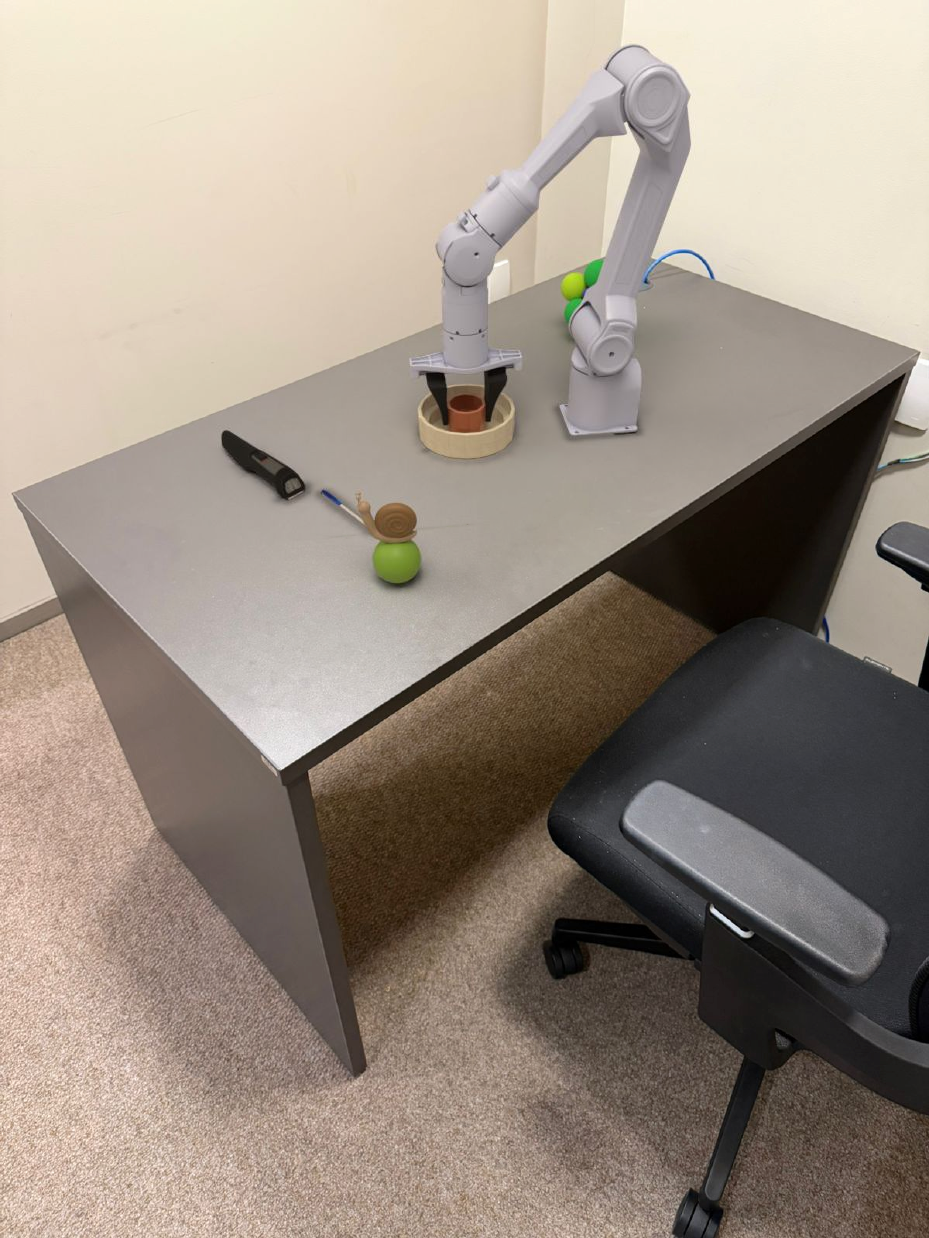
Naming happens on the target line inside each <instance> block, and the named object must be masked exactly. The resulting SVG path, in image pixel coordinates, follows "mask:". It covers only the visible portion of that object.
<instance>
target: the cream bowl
mask: <svg viewBox="0 0 929 1238" xmlns="http://www.w3.org/2000/svg"><path fill="white" fill-rule="evenodd" d="M484 392H485V387H484V384H477V383H476V384H475V383H457V384H451V385H447V400H448V399H449V398H450V397H451V396H453V395H457V394H461V393H472V394H477V395H479V396H481V397H482V398H484ZM515 413H516V409H515V405H514V401H513V399H512V398H511V397H509V396H508V395H507V394H506V393H505V392H503V391H502V392H501V393H500V395H499V397H498V399H497V401H496V404H495V406H494V410H493V413H492V417H491V422H486V421H485V431H482V432H474V433H457V432H449V431H448V425H445V426H444V425H443V421H442V415H441V412H440V409H439V407H438V404H437V402H436V400H435V398H434V396H433V395H432V393H431V392H428V393H427V394H426V395H425V396H424V397H423V398H421V400H420V402H419V404H418V406H417V421H418V422H417V423H418V435H419V440H420V441H421V443H423V445H424V446H425V448H427V449H428V450H430V451H432V452H433V453H435V454H437V455H440V456H443V457H445V458H446V457H447V458H451V459H462V460H468V459H480V458H484V457H488V456H492V455H494V454H495V455H496V454H497V453H499V452H500V451H503V450H504V449H506V448H507V446H508V445H509V444H510V443H511V442H512V441H513V437H514V434H515V421H516V417H515V415H516V414H515Z"/></svg>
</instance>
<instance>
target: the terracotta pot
mask: <svg viewBox="0 0 929 1238" xmlns="http://www.w3.org/2000/svg"><path fill="white" fill-rule="evenodd" d="M447 411H448V419H449V425H448V431H449V432H457V433H474V432H482V431H485V421H486V403H485V399H484V398H482V397H481V396H479V395H477V394H472V393H461V394H457V395H453V396H451V397H450V398H449V399H448V400H447Z"/></svg>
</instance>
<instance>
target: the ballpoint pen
mask: <svg viewBox="0 0 929 1238" xmlns="http://www.w3.org/2000/svg"><path fill="white" fill-rule="evenodd" d="M320 494H321V495H324V496H325V497H327V498H328V499H329V500H331V501H332V502H333V503H334V504H336V505H337V506H339V507H340V508H342V509H343V510H345V511H346V512H347V513H348V514H350V515H351V516H352V517H354V518H355V519H356V520H358V521H359V522H360V523H362V524H363V525H364V523H363V520H362V517H361V516H358V515H357V514H356V513H355V512H354V511H352V510H351V509H349V508H348V507H347V506H345V505H344V504H343V503H342V502H341V501H340V500H338V498H337V497H335V496H334V495H333V494H331V493H330V492H329V491H327V490H326V489H321V491H320Z"/></svg>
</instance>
